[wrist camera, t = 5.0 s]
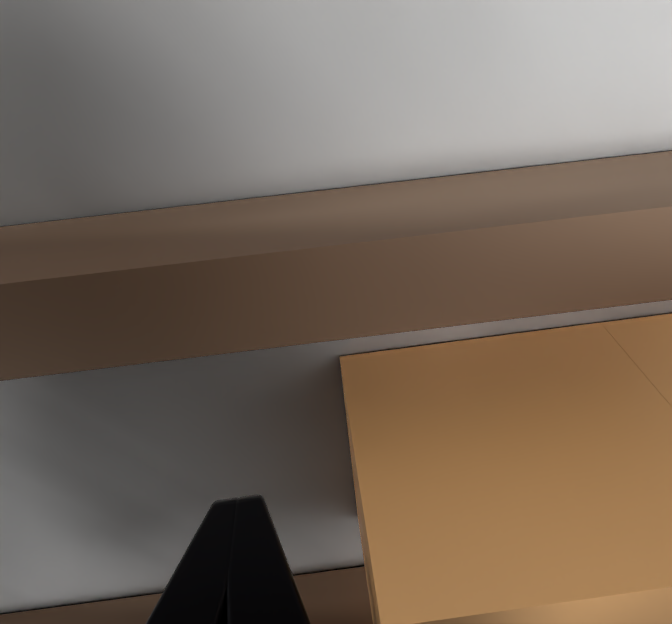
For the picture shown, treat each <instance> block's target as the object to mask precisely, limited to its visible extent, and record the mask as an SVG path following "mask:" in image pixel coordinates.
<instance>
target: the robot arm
mask: <svg viewBox="0 0 672 624" xmlns="http://www.w3.org/2000/svg"><path fill="white" fill-rule="evenodd" d="M146 624H311V623H310V620H309V618H308V615H307V612H306V610H305V607H304V604H303V602H302V599H301V596H300V594H299V591H298V588H297V586H296V583H295V580H294V578H293V575H292V572H291V569H290V567H289V564H288V561H287V559H286V556H285V553H284V551H283V548H282V545H281V543H280V540H279V537H278V535H277V532H276V529H275V527H274V524H273V521H272V519H271V516H270V513H269V511H268V508H267V505H266V503H265V500H264V498H263V496H262V495H252V496H245V497H240V498H231V499H223V500H218V501H215V502H214V503H213V504H212V505H211V507H210V509H209V510H208V512H207V514H206V516H205V518H204V519H203V521H202V523H201V525H200V527H199V528H198V530H197V532H196V534H195V536H194V537H193V539H192V541H191V543H190V545H189V546H188V548H187V550H186V552H185V554H184V555H183V557H182V559H181V561H180V563H179V564H178V566H177V568H176V570H175V572H174V573H173V575H172V577H171V579H170V581H169V582H168V584H167V586H166V588H165V590H164V591H163V593H162V595H161V597H160V599H159V600H158V602H157V604H156V606H155V608H154V609H153V611H152V613H151V615H150V617H149V618H148V620H147V622H146Z"/></svg>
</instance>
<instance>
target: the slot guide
mask: <svg viewBox="0 0 672 624" xmlns="http://www.w3.org/2000/svg"><path fill="white" fill-rule="evenodd" d="M665 300H672V151H666V152H657V153H648V154H639V155H630V156H622V157H613V158H604V159H595V160H586V161H577V162H569V163H560V164H551V165H542V166H533V167H524V168H516V169H507V170H498V171H489V172H480V173H472V174H463V175H454V176H445V177H436V178H427V179H419V180H410V181H401V182H392V183H383V184H374V185H366V186H357V187H348V188H339V189H330V190H321V191H313V192H304V193H295V194H286V195H277V196H269V197H260V198H251V199H242V200H233V201H224V202H216V203H207V204H198V205H189V206H180V207H171V208H163V209H154V210H145V211H136V212H127V213H119V214H110V215H101V216H92V217H83V218H74V219H66V220H57V221H48V222H39V223H30V224H21V225H13V226H4V227H0V381H3V380H11V379H19V378H28V377H36V376H44V375H52V374H61V373H69V372H77V371H85V370H94V369H102V368H110V367H119V366H127V365H135V364H143V363H152V362H160V361H168V360H176V359H185V358H193V357H201V356H210V355H218V354H226V353H234V352H243V351H251V350H259V349H268V348H276V347H284V346H292V345H301V344H309V343H317V342H325V341H334V340H342V339H350V338H359V337H367V336H375V335H383V334H392V333H400V332H408V331H417V330H425V329H433V328H441V327H450V326H458V325H466V324H474V323H483V322H491V321H499V320H508V319H516V318H524V317H532V316H541V315H549V314H557V313H565V312H574V311H582V310H590V309H599V308H607V307H615V306H623V305H632V304H640V303H648V302H657V301H665ZM293 578H294V580H295V583H296V586H297V588H298V591H299V594H300V596H301V599H302V602H303V604H304V607H305V610H306V612H307V615H308V618H309V620H310V623H311V624H373V620H372V613H371V606H370V599H369V592H368V585H367V578H366V571H365V566H364V567H357V568H349V569H342V570H334V571H327V572H319V573H312V574H304V575H296V576H293ZM161 595H162V593H160V594H153V595H145V596H138V597H130V598H122V599H115V600H107V601H100V602H92V603H85V604H77V605H70V606H62V607H54V608H47V609H39V610H32V611H24V612H17V613H9V614H1V615H0V624H146V622H147V620H148V618H149V617H150V615H151V613H152V611H153V609H154V608H155V606H156V604H157V602H158V600H159V599H160V597H161Z"/></svg>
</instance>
